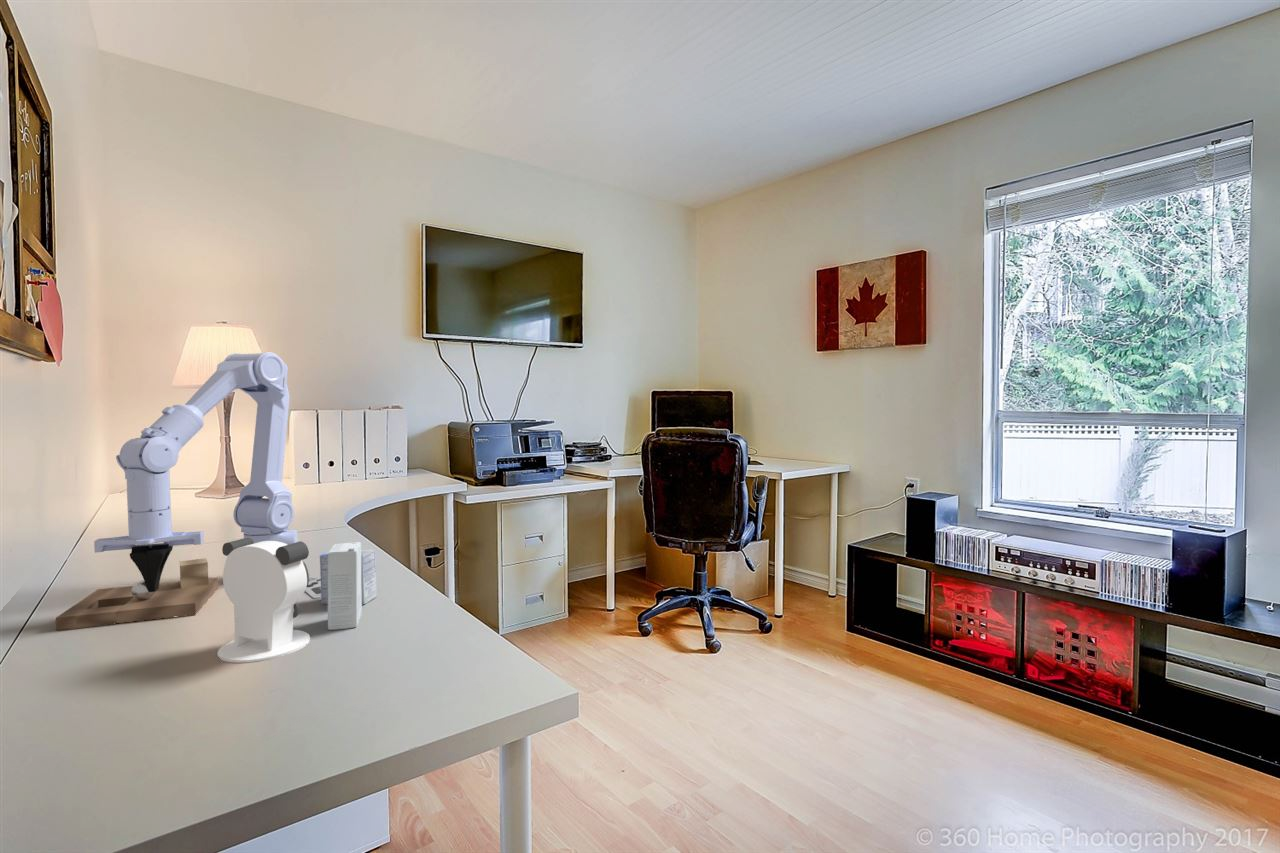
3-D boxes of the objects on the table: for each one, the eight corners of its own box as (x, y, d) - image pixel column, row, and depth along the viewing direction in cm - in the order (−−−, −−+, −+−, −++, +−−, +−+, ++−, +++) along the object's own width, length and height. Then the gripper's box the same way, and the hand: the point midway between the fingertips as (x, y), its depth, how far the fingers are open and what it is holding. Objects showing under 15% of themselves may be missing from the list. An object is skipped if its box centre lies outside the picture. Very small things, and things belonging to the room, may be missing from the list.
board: (218, 588, 120) (217, 577, 120) (195, 614, 105) (195, 602, 105) (98, 600, 113) (97, 589, 113) (56, 630, 99) (55, 617, 99)
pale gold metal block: (207, 579, 119) (206, 558, 119) (208, 584, 116) (207, 562, 116) (180, 583, 117) (179, 561, 116) (181, 588, 113) (180, 566, 113)
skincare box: (333, 618, 103) (331, 543, 103) (363, 615, 105) (361, 541, 104) (326, 631, 97) (324, 552, 97) (359, 628, 99) (356, 549, 98)
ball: (147, 574, 109) (129, 587, 108) (143, 578, 106) (124, 592, 105) (162, 587, 110) (144, 600, 109) (158, 592, 107) (139, 606, 106)
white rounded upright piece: (331, 636, 96) (328, 535, 95) (268, 667, 85) (264, 553, 84) (265, 628, 99) (262, 531, 98) (197, 657, 88) (192, 548, 87)
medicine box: (377, 597, 114) (376, 549, 114) (364, 605, 110) (362, 555, 109) (335, 596, 115) (333, 548, 114) (320, 604, 110) (318, 554, 110)
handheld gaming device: (341, 570, 130) (365, 587, 119) (342, 574, 130) (366, 591, 119) (293, 579, 125) (313, 597, 113) (293, 582, 125) (313, 601, 113)
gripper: (85, 516, 101) (88, 602, 101) (195, 510, 106) (198, 591, 107) (102, 510, 107) (105, 590, 108) (205, 504, 113) (208, 581, 113)
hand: (152, 590), depth 108 cm, fingers closed, pressing on ball
